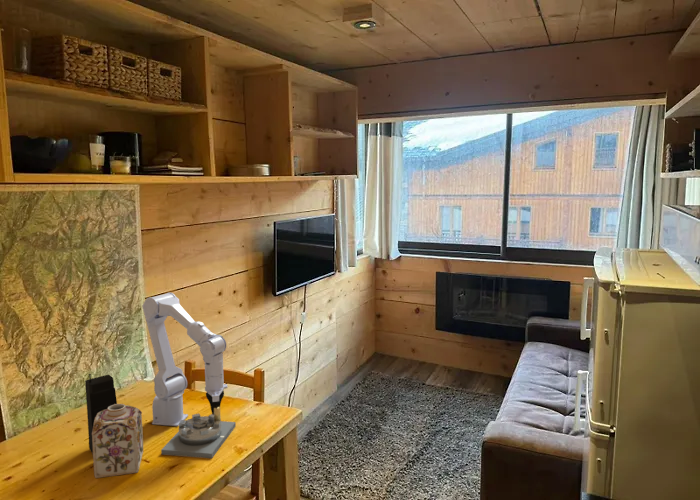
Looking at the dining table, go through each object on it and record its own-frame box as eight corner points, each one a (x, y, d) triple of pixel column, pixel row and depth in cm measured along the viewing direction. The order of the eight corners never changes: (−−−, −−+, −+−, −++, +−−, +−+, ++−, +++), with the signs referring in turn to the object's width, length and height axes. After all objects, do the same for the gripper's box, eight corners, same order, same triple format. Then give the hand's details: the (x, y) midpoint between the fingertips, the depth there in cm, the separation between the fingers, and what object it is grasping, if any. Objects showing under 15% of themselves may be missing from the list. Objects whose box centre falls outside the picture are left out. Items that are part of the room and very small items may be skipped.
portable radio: (114, 440, 161) (110, 364, 157) (121, 447, 156) (117, 370, 153) (88, 449, 155) (82, 371, 152) (94, 456, 151) (89, 377, 147)
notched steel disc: (183, 449, 152) (182, 424, 151) (175, 430, 164) (174, 407, 162) (225, 438, 158) (225, 414, 157) (215, 421, 170) (215, 399, 169)
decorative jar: (93, 479, 140) (89, 418, 137) (102, 457, 151) (98, 400, 148) (139, 473, 143) (136, 413, 140) (144, 452, 154) (141, 395, 151)
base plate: (161, 454, 152) (161, 449, 152) (190, 423, 172) (190, 418, 172) (212, 458, 150) (211, 453, 150) (235, 426, 170) (235, 421, 170)
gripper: (228, 380, 157) (229, 421, 159) (225, 364, 170) (226, 402, 172) (205, 383, 155) (206, 425, 157) (203, 366, 168) (205, 405, 170)
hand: (215, 413), depth 164 cm, fingers closed, pressing on notched steel disc
